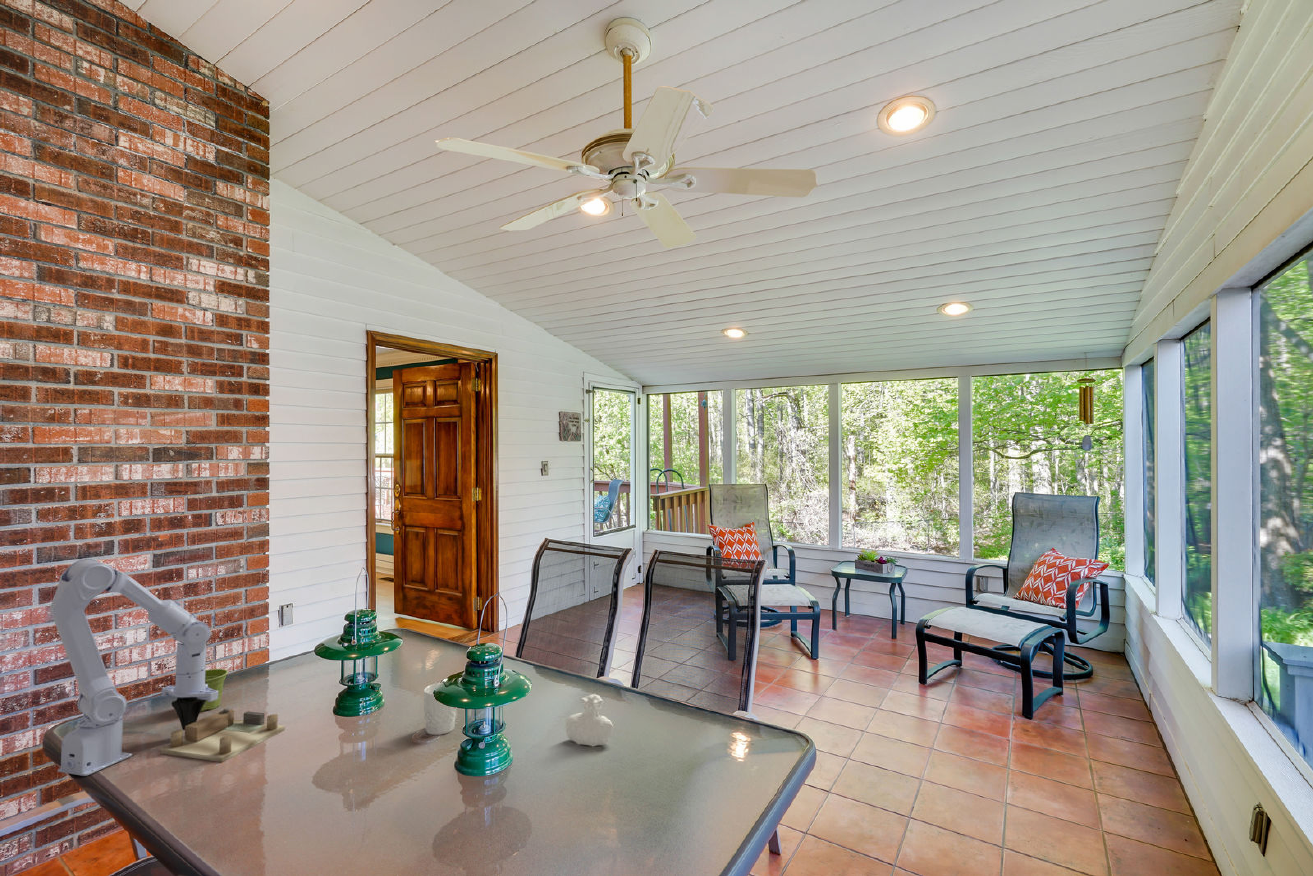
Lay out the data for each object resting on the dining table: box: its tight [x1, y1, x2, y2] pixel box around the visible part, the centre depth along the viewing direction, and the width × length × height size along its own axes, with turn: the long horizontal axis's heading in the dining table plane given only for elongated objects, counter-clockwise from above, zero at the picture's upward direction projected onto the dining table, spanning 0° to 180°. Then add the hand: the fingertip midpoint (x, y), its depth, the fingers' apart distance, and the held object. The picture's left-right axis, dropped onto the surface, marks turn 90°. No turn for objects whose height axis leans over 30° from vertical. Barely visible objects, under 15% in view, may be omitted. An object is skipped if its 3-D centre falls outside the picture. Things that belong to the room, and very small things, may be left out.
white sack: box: [565, 693, 614, 748], centre depth 149 cm, size 12×8×11 cm
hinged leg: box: [184, 708, 235, 741], centre depth 149 cm, size 11×4×4 cm, turn 167°
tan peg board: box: [160, 711, 286, 763], centre depth 146 cm, size 17×17×4 cm
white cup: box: [423, 682, 457, 736], centre depth 154 cm, size 8×8×10 cm
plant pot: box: [200, 668, 229, 712], centre depth 166 cm, size 9×9×9 cm
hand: (188, 728), depth 149 cm, fingers closed
